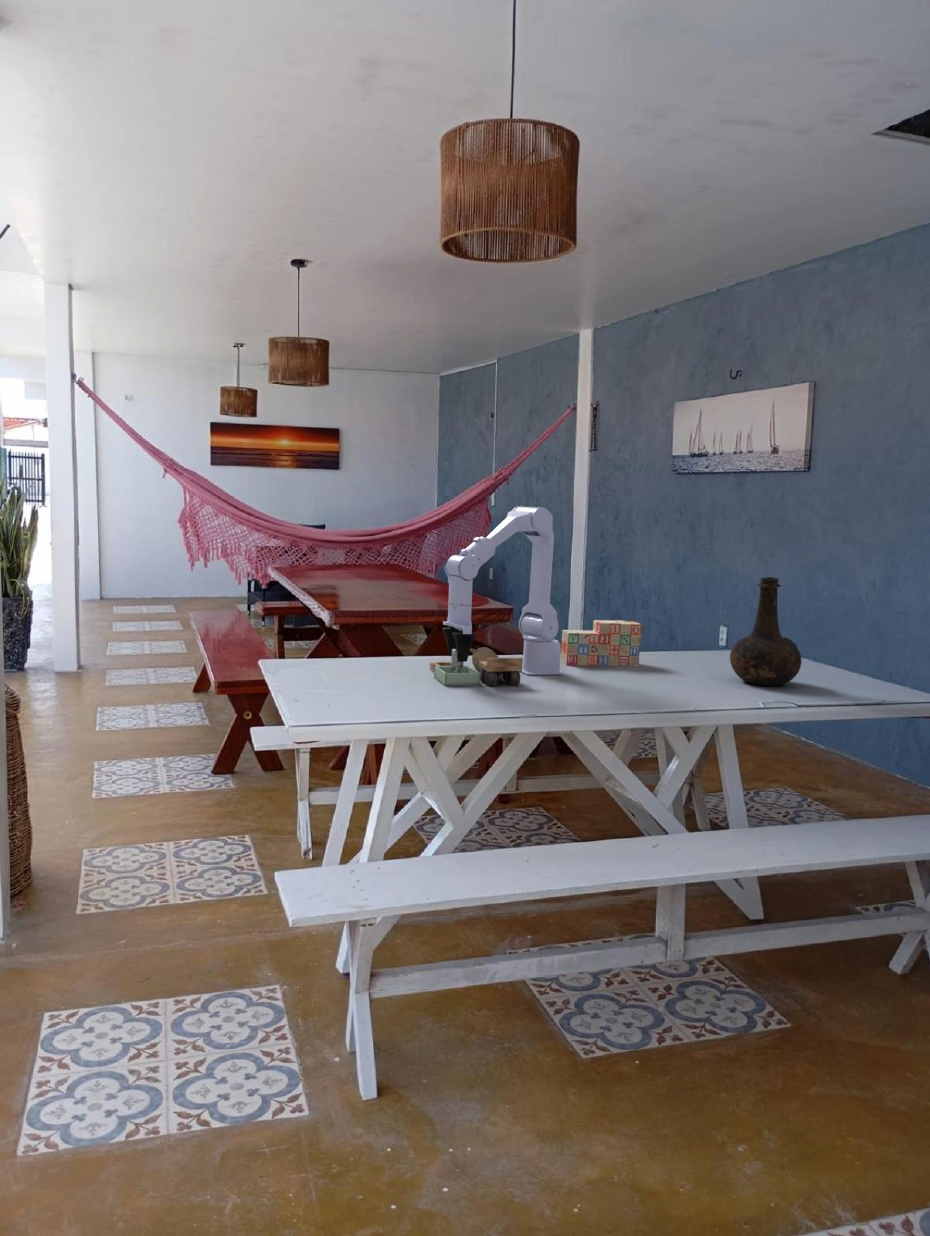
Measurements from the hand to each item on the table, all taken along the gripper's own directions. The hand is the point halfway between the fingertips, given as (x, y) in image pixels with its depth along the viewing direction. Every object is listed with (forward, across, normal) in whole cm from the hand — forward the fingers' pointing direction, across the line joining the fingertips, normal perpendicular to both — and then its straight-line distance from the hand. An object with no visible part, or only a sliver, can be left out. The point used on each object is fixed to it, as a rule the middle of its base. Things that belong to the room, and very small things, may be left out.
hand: (457, 658), depth 241 cm
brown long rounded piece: (+6, -8, +10) cm, 14 cm away
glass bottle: (+6, +9, +82) cm, 83 cm away
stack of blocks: (+6, -22, +49) cm, 54 cm away
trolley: (+6, +4, +10) cm, 12 cm away
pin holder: (+6, -13, +1) cm, 14 cm away
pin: (+5, 0, 0) cm, 5 cm away
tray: (+6, 0, 0) cm, 6 cm away
